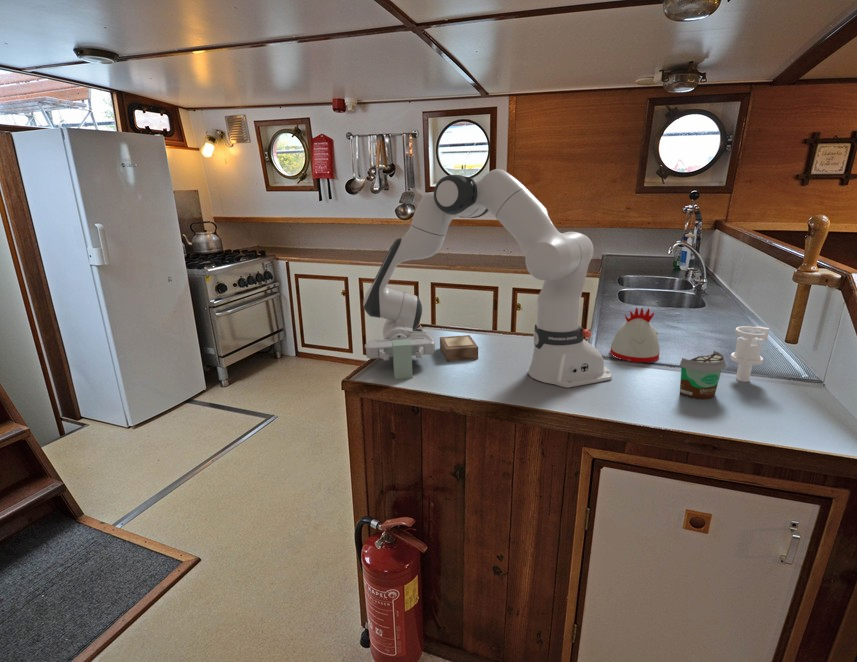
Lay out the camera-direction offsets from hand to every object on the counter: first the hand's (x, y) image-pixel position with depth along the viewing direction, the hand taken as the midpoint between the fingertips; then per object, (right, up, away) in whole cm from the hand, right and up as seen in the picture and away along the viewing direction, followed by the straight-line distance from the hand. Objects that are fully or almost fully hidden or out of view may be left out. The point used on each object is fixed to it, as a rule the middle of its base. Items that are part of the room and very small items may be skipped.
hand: (402, 356), depth 134 cm
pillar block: (0, -6, +3) cm, 6 cm away
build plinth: (+17, 0, +18) cm, 25 cm away
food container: (+76, -9, -15) cm, 78 cm away
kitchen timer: (+71, 0, +14) cm, 72 cm away
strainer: (+91, -6, -6) cm, 92 cm away
